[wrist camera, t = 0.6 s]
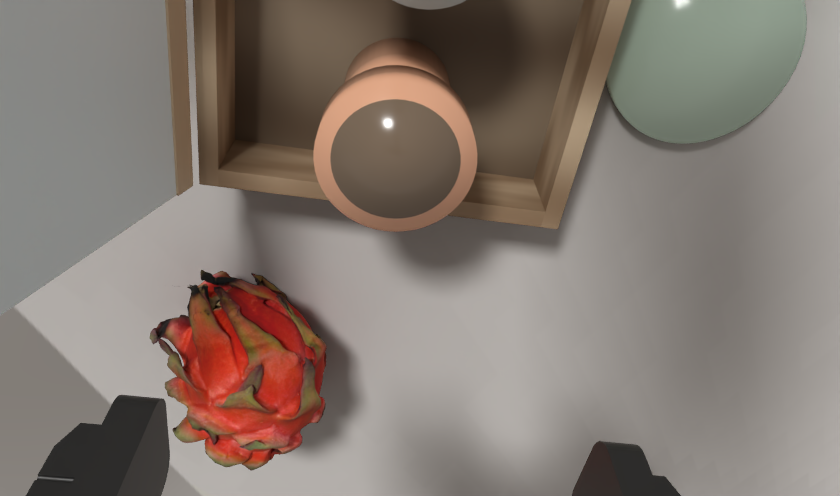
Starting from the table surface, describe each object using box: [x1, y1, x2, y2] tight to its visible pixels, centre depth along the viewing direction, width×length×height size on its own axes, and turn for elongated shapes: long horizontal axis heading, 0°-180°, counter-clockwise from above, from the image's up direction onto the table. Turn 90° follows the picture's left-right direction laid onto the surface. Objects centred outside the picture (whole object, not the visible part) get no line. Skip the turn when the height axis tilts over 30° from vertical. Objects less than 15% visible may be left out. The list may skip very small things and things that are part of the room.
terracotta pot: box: [313, 38, 477, 232], centre depth 25 cm, size 6×6×7 cm
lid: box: [0, 0, 193, 315], centre depth 16 cm, size 15×14×1 cm
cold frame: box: [193, 0, 632, 229], centre depth 21 cm, size 16×23×12 cm
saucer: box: [606, 0, 807, 144], centre depth 28 cm, size 8×8×1 cm
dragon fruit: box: [150, 270, 326, 470], centre depth 33 cm, size 8×8×12 cm
